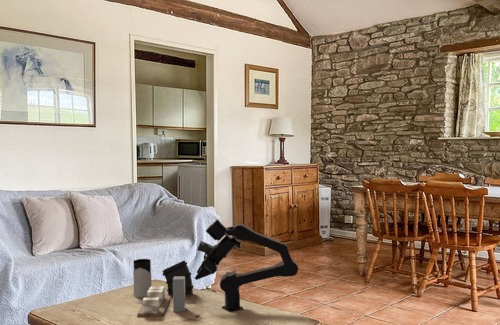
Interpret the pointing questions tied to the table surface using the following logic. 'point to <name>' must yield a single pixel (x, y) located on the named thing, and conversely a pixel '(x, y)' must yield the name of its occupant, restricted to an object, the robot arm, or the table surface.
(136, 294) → the glass holder
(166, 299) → the board
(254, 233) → the robot arm
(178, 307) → the block
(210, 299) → the table surface
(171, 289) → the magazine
